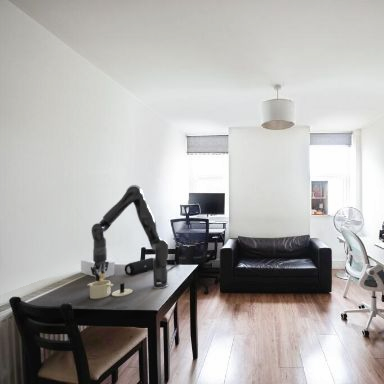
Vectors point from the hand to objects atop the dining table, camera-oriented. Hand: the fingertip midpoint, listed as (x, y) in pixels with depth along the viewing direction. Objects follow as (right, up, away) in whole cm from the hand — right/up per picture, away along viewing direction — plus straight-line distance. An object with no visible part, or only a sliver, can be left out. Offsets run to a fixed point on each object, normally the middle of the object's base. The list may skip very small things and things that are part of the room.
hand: (100, 279), depth 172 cm
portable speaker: (+5, -11, +52) cm, 53 cm away
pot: (0, -11, 0) cm, 11 cm away
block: (0, 0, 0) cm, 0 cm away
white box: (-31, -12, +49) cm, 59 cm away
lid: (+13, -10, +3) cm, 16 cm away
